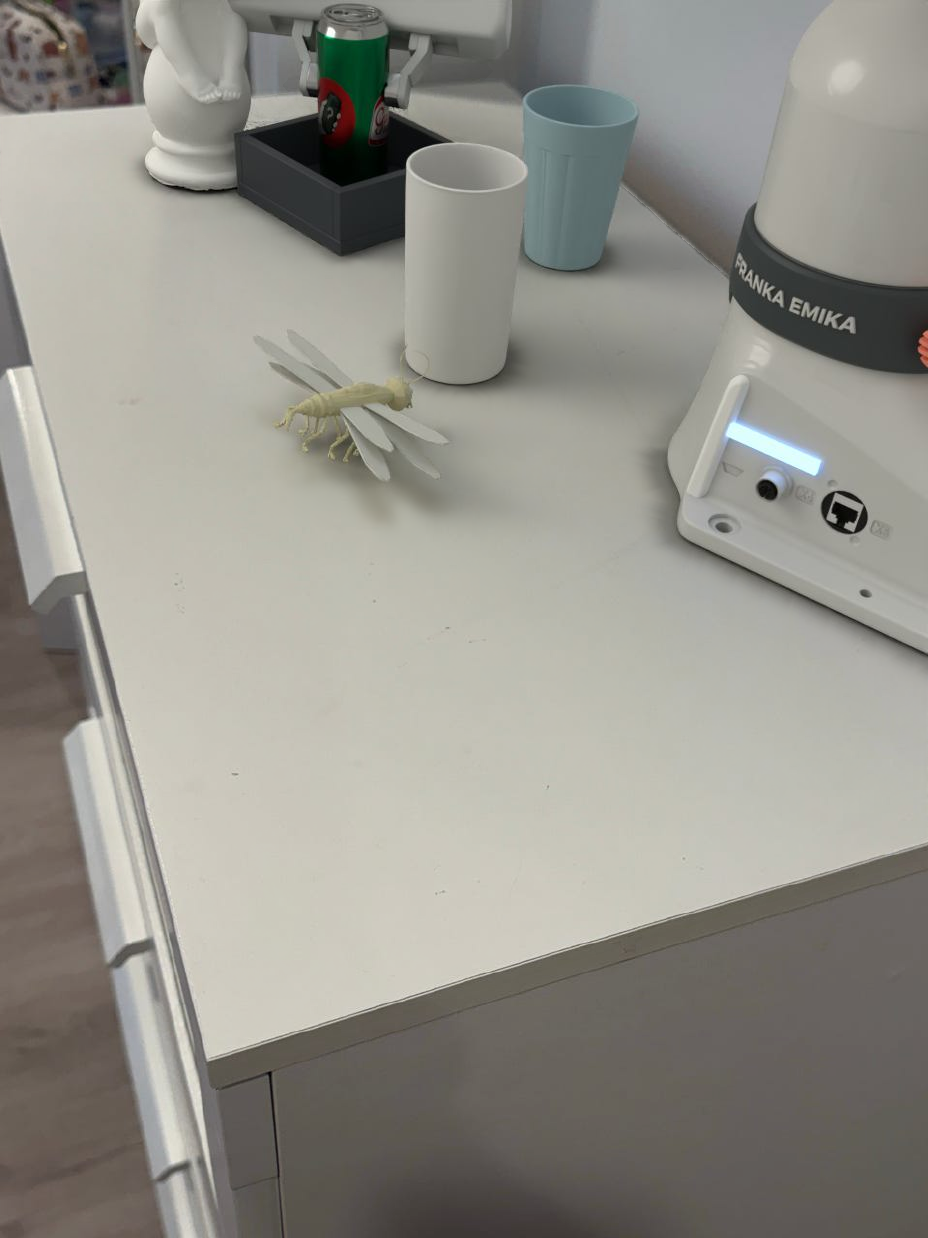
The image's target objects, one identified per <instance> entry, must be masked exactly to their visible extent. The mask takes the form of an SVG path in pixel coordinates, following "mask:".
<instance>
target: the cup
mask: <svg viewBox="0 0 928 1238" xmlns="http://www.w3.org/2000/svg"><path fill="white" fill-rule="evenodd" d="M522 99H523V100H522V130H523V131H522V132H523V133H522V134H523V162H524V163H525V164H526V166H527V168H528V178H527V191H526V201H525V209H524V218H523V225H524V227H523V228H524V230H523V231H524V253H525V255H526V256H527V257H528V258H529V259H530V260H531V261H532V262H534V263H536V264H537V265H539V266H542V267H545V268H548V269H552V270H558V271H581V270H585V269H588V268H592V267H594V266H595V265H596V264H598V262H599V261H600V260H601V259H602V255H603V252H604V247H605V245H606V240H607V237H608V233H609V230H610V225H611V222H612V218H613V214H614V210H615V207H616V202H617V199H618V195H619V192H620V187H621V185H622V181H623V177H624V173H625V169H626V166H627V161H628V157H629V154H630V150H631V146H632V142H633V139H634V135H635V131H636V128H637V124H638V120H639V116H640V107H639V106H638V105H637V103H635V102H634V101H633V100H632V99H630V98H629V97H627V96H625V95H624V94H621V93H618V92H615V91H613V90H609V89H605V88H603V87H602V88H601V87H598V86H597V87H596V86H590V85H581V84H554V85H553V84H552V85H546V86H542V87H538V88H535V89H532V90H530V91H529V92H528V93H526V94H525V95H524V97H523V98H522Z"/></svg>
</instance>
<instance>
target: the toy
mask: <svg viewBox="0 0 928 1238" xmlns="http://www.w3.org/2000/svg"><path fill="white" fill-rule="evenodd" d="M284 332H285V336H286V339H287V342H288V343H289V344H290V345H291V346H293V348H295V349H296V350H297V352H298V353H300V355H302V357H304V358H305V359H306V360H308V361H309V362H310V363H312V365H314V366H315V367H316V368H317V369H316V368H315V367H313V366H311V365H309V364H307V363H305V362H303V361H300V360H299V359H297V358H296V356H295V357H294V356H293V355H292V354H291V353H289V352H288V351H286V350H284V349H283V348H282V347H280V346H278V345H277V344H275V343H274V342H272V341H271V340H268V339H266V338H264V337H263V336H260V335H257V334H256V335H253V336H252V340H253V342H254V344H255V345H256V346H257V347H258V348H259V349H260V350H261V351H262V352H263V353H265V354H266V355H267V356H269V357H270V358H271V359H272V360H273V361H275V362H273V361H269V362H268V363H267V364H268V366H269V368H270V369H271V370H272V371H273V372H275V373H276V374H277V375H280V376H281V377H282V378H283V379H285V380H287V381H289V382H291V383H292V384H295V385H296V386H298V387H300V388H302V389H304V390H306V391H308V392H309V393H311V394H313V395H312V396H311V397H310V398H309V397H307V398H305V399H304V400H303V401H301V402H300V403H299V404H298V405H296V404H295V405H290V406H288V407H287V410H286V411H285V415H284V416H283V419H282V420H281V422H280V423H279V422H276V421H273V422H272V425H273V427H274V428H275V429H276V430H277V429H279V428H282V427H283V426H285V430H286V432H289V431H290V430H289V429H290V427H291V424H292V422H293V420H294V416H295V415H296V414H301V415H302V416H305V427H304V429H299V430H298V431H297V432H298V434H301V436H302V437H306V435H307V432H308V431H309V429H310V418H313V417H314V418H315V421H314V425H313V430H311V431H310V434H311V436H309V437H308V438H306V439H304V441H303V443H302V444H301V451H302V452H303V453H305V454H309V449H308V447H307V444H309V443H310V442H311V441H313V440H315V439H316V438H317V437H319V436H322V435H323V434H324V433H325V429H326V427H327V424H328V421H329V418H332V420H333V421H334V424H335V428H336V431H337V437H335V439H336V441H334V443H331V445H330V447H329V451H328V453H327V457H328V458H331V460H333V461H336V457H335V454H334V453H333V452H334V448H336V447H337V446H339V444H341V443H342V442H343V441H345V440H346V439H347V438H348V436H349V435H350V436H351V438H352V440H353V441H352V442H351V444H350V445H349V447H348V449H347V451H346V453H345V454H344V457H343V459H342V460H343V462H344V463H350V459H349V457H350V456H351V453H352V451H353V448H354V446H355V447H356V449H355V450H354V451H353V453H352V455H353V456H355V457H359V455H360V456H361V458H362V460H363V463H364V465H365V466H366V467H367V468H368V469H369V470H370V472H371V473H372V474H373V475H374V476H375V477H376V478H377V479H378V480H380V481H381V482H386V483H389V482H390V481H391V472H390V469H389V467H388V464H387V461H386V458H385V455H384V454H383V453H382V450H384V451H386V452H388V453H392V452H393V451H394V447H395V448H396V449H397V450H398V452H400V453H401V454H402V456H404V458H406V459H407V460H408V461H409V462H410V463H411V464H412V465H413V466H414V467H415V468H416V469H418V470H419V471H421V472H423V473H424V474H426V475H428V476H430V477H432V478H433V479H434V480H438V481H439V480H441V479H442V475H441V473H440V471H439V469H438V468H437V467H436V465H435V464H434V463H433V462H432V460H431V459H430V457H429V456H428V455H427V454H426V453H425V452H424V451H423V450H422V449H421V447H420V446H419V445H418V444H417V443H416V442H415V441H414V440H413V439H412V438H411V437H410V436H409V435H408V434H407V433H406V432H408V433H409V434H411V435H413V436H415V437H417V438H419V439H421V440H423V441H425V442H427V443H431V444H435V445H438V446H449V445H450V441H449V440H448V438H446V437H445V436H444V435H443V434H441V433H439V432H438V431H436V430H434V429H432V428H430V427H427V425H424V424H422V423H420V422H418V421H417V420H413V419H412V418H410V417H408V416H406V415H404V414H402V413H400V412H401V411H404V409H412V408H413V407H414V406H413V402H412V399H413V393H414V389H413V388H412V387H411V386H410V384H411V383H414V382H416V381H419V380H420V379H422V378H423V377H424V375H426V373H427V372H428V370H429V369H428V368H430V367H428V368H427V369H428V370H426V371H427V372H426V371H425V372H426V373H425V372H424V373H425V374H423V375H420V376H419V377H418V378H416V379H413V380H410V381H408V382H407V381H406V380H404V379H403V374H402V361H403V358H404V356H405V349H406V346H408V344H407V343H406V346H405V345H404V349H402V352H401V355H400V357H399V361H400V362H399V371H400V377H398V376H392V377H390V378H388V379H386V382H385V383H384V386H383V385H377V384H375V383H371V382H365V381H361V382H354V381H353V380H352V379H351V378H350V377H349V376H348V375H347V374H346V373H344V372H343V371H342V370H341V369H340V368H339V367H338V366H337V365H336V364H334V362H333V361H332V360H330V358H328V357H327V356H326V354H324V353H323V352H322V351H321V350H320V349H319V348H318V347H317V346H315V345H314V344H312V343H311V342H310V341H309V340H307V339H306V338H304V337H303V336H302V335H300V334H298V332H295V331H294V330H293V329H290V328H286V329H284ZM414 352H419V353H421V354H422V355H424V356H425V357H426V358H427V360H428V361H429V359H428V357H427V356H426V355H425V354H424V353H422V352H420V351H414ZM276 362H277V363H276ZM428 366H430V362H428ZM386 405H387V406H386ZM337 417H341V418H342V420H343V422H344V424H345V433H344V434H343V435H342V429H341V427H340V424H339V421H338V418H337ZM321 418H324V420H323V423H322V426H321V428H320V430H318V427H319V422H320V419H321ZM381 449H382V450H381Z"/></svg>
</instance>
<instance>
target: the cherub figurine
mask: <svg viewBox="0 0 928 1238" xmlns="http://www.w3.org/2000/svg"><path fill="white" fill-rule="evenodd" d="M135 15H136V16H135V29H136V32H137V35H138V37H139V38H140V40H141V42H142V43H143V45H145V47H146V48H148V49H150V50H151V53H150V54H149V58H148V61H147V63H146V66H145V71H144V76H143V86H142V87H143V97H144V98H143V99H144V103H145V107H146V109H147V112H148V115H149V117H150V119H151V122H152V124H153V126H154V128H155V130H154V131H153V132H152V142H153V144H154V146H153V147H152V148H150V150H148V152H147V153H146V155H145V158H144V165H145V167H146V169H147V170H148V171H147V172H148V173H147V174H149V175H150V176H151V177H153V178H154V179H155V180H157V181H158V182H160V184H163V185H167V186H174V187H176V186H178V187H180V188H181V187H184V189H190V190H194V191H204V190H205V191H209V190H210V189H211V190H214V191H215V190H216V191H217V190H220V191H221V190H223V189H224V190H228V189H232V188H238V185H237V172H236V158H235V144H234V133H237V132H241V131H245V128H246V125H247V122H248V121H249V116H250V111H251V106H252V92H251V90H252V89H251V84H250V80H249V76H248V74H247V71H246V68H245V66H244V64H245V57H246V54H247V50H248V43H249V31H248V30H247V24H246V21H245V20H244V18H243V17H242V16H241V15H239V14H238V13H236V12H234V11H233V10H232V9H231V7H230V5H229V3H228V0H139V7H138V8H137V12H136V14H135Z"/></svg>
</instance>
